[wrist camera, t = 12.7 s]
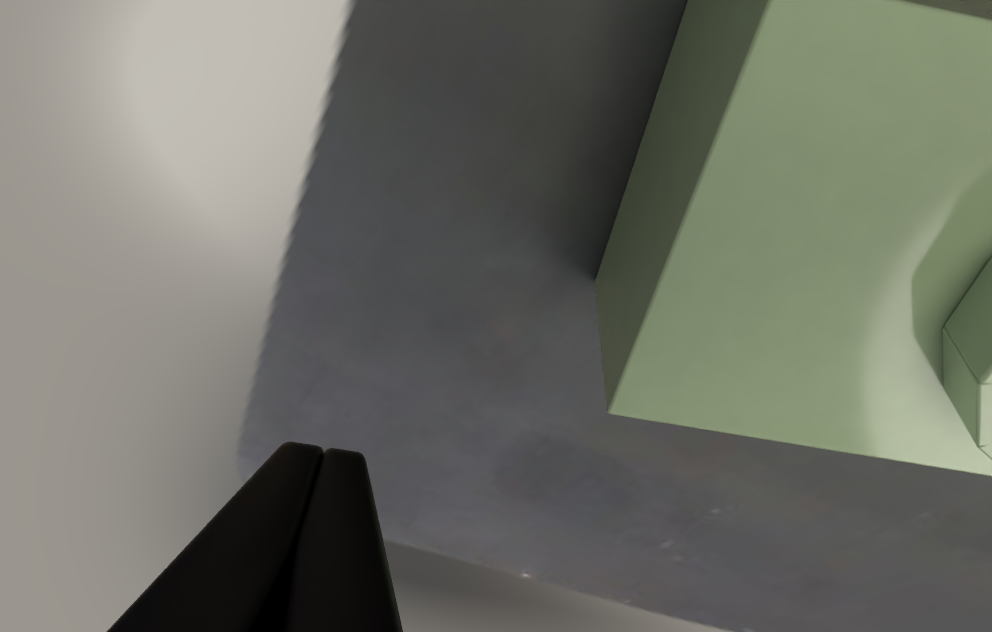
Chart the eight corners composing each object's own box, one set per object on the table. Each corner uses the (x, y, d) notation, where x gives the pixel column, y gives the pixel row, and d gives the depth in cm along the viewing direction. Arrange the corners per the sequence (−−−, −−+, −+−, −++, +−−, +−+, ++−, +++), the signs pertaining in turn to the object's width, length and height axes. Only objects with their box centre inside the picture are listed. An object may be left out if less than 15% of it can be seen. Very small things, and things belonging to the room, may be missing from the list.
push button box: (593, 283, 23) (612, 474, 17) (719, -99, 17) (810, 11, 11) (1016, 358, 24) (1159, 560, 19) (1279, 26, 18) (1608, 181, 12)
